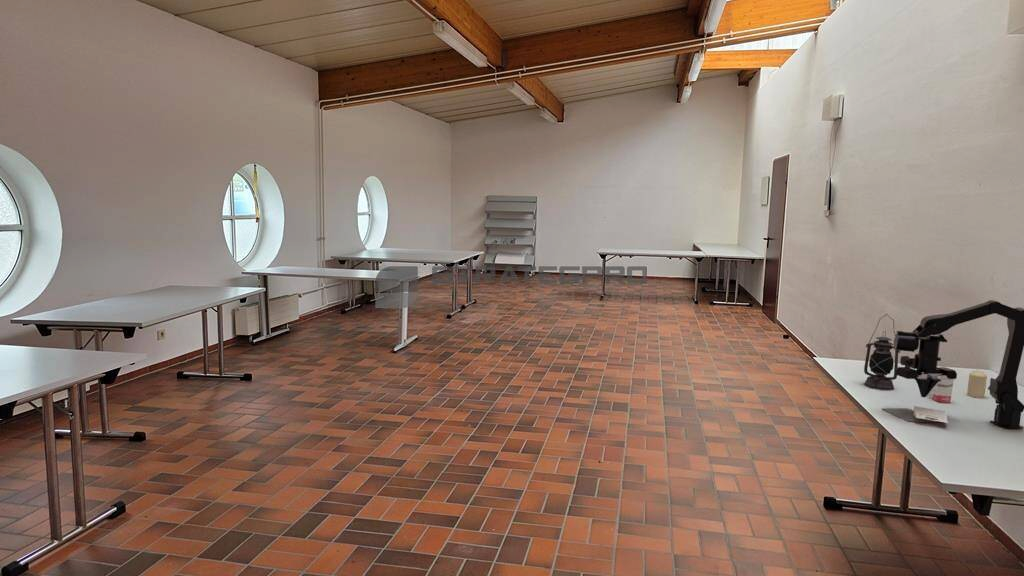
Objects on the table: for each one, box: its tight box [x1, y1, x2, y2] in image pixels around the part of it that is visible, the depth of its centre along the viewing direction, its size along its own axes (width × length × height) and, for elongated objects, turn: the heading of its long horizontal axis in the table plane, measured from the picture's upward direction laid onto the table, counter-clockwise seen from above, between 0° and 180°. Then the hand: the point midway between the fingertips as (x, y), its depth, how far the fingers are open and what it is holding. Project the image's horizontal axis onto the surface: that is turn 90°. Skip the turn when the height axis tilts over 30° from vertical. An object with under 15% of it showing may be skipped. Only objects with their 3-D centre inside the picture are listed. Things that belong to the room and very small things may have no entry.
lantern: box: [863, 313, 901, 391], centre depth 250 cm, size 12×11×30 cm
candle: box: [966, 370, 988, 399], centre depth 242 cm, size 6×6×10 cm
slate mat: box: [881, 407, 937, 423], centre depth 216 cm, size 13×10×1 cm
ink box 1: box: [926, 376, 955, 404], centre depth 236 cm, size 9×5×12 cm, turn 168°
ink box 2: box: [913, 405, 949, 424], centre depth 210 cm, size 3×9×12 cm
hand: (923, 397), depth 216 cm, fingers closed
